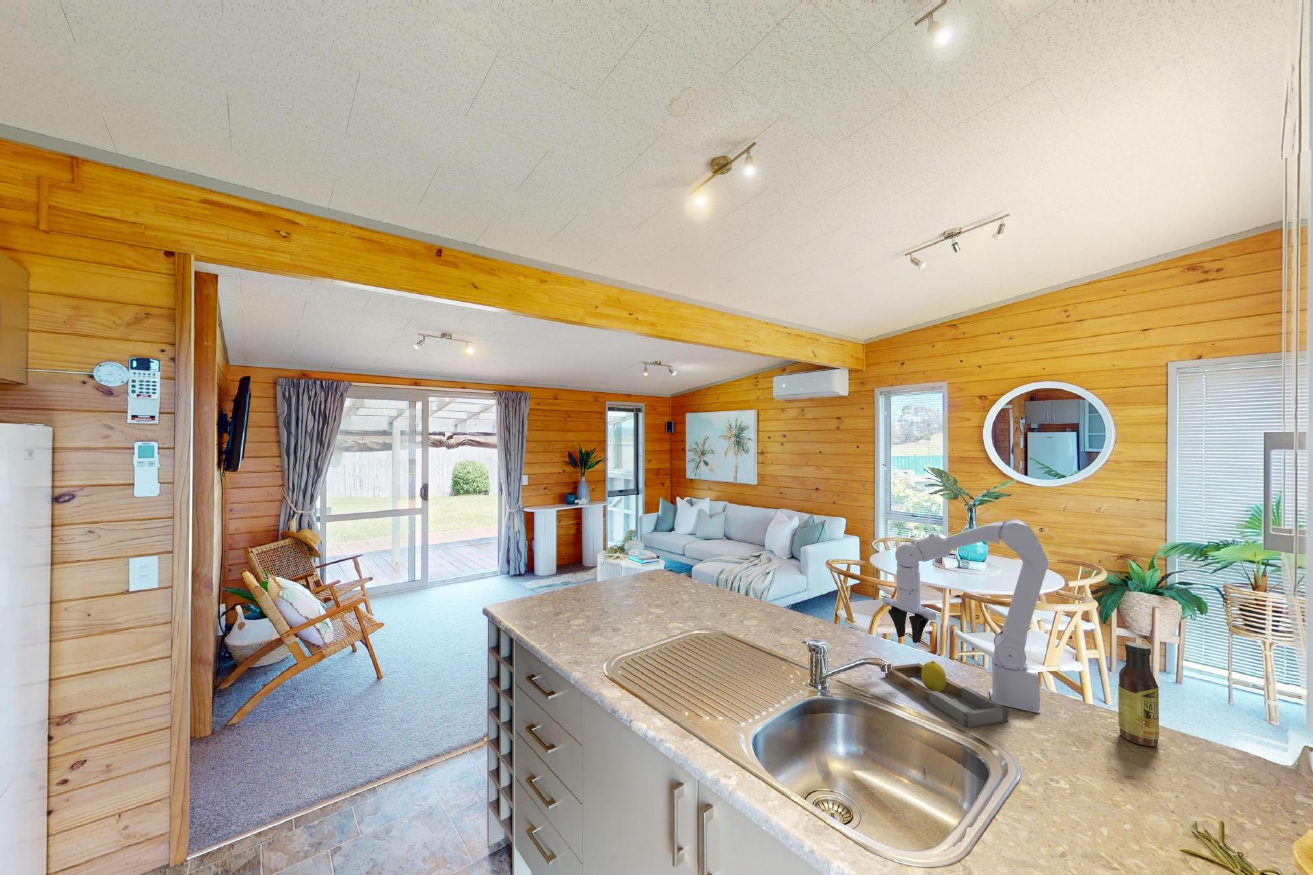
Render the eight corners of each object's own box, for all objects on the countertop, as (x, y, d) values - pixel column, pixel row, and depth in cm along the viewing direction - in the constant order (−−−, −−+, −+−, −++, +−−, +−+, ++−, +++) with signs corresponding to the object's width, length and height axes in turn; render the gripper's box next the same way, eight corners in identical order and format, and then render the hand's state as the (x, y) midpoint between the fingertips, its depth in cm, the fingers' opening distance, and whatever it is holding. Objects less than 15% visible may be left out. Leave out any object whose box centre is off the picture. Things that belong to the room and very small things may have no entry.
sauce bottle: (1151, 751, 103) (1149, 653, 103) (1113, 736, 108) (1111, 642, 109) (1165, 743, 106) (1163, 647, 106) (1126, 728, 111) (1125, 637, 112)
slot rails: (885, 676, 137) (885, 667, 137) (919, 672, 139) (919, 663, 139) (929, 704, 122) (929, 693, 122) (966, 698, 124) (966, 688, 124)
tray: (929, 704, 122) (929, 691, 122) (966, 698, 124) (966, 686, 124) (968, 728, 111) (968, 714, 111) (1007, 721, 114) (1007, 708, 114)
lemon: (945, 700, 124) (945, 667, 124) (920, 694, 126) (920, 662, 127) (946, 691, 128) (946, 659, 128) (922, 685, 131) (922, 654, 131)
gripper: (943, 593, 132) (943, 645, 131) (894, 580, 145) (895, 628, 144) (925, 596, 128) (926, 650, 128) (877, 583, 141) (878, 632, 141)
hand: (908, 639), depth 136 cm, fingers open, 4 cm apart
